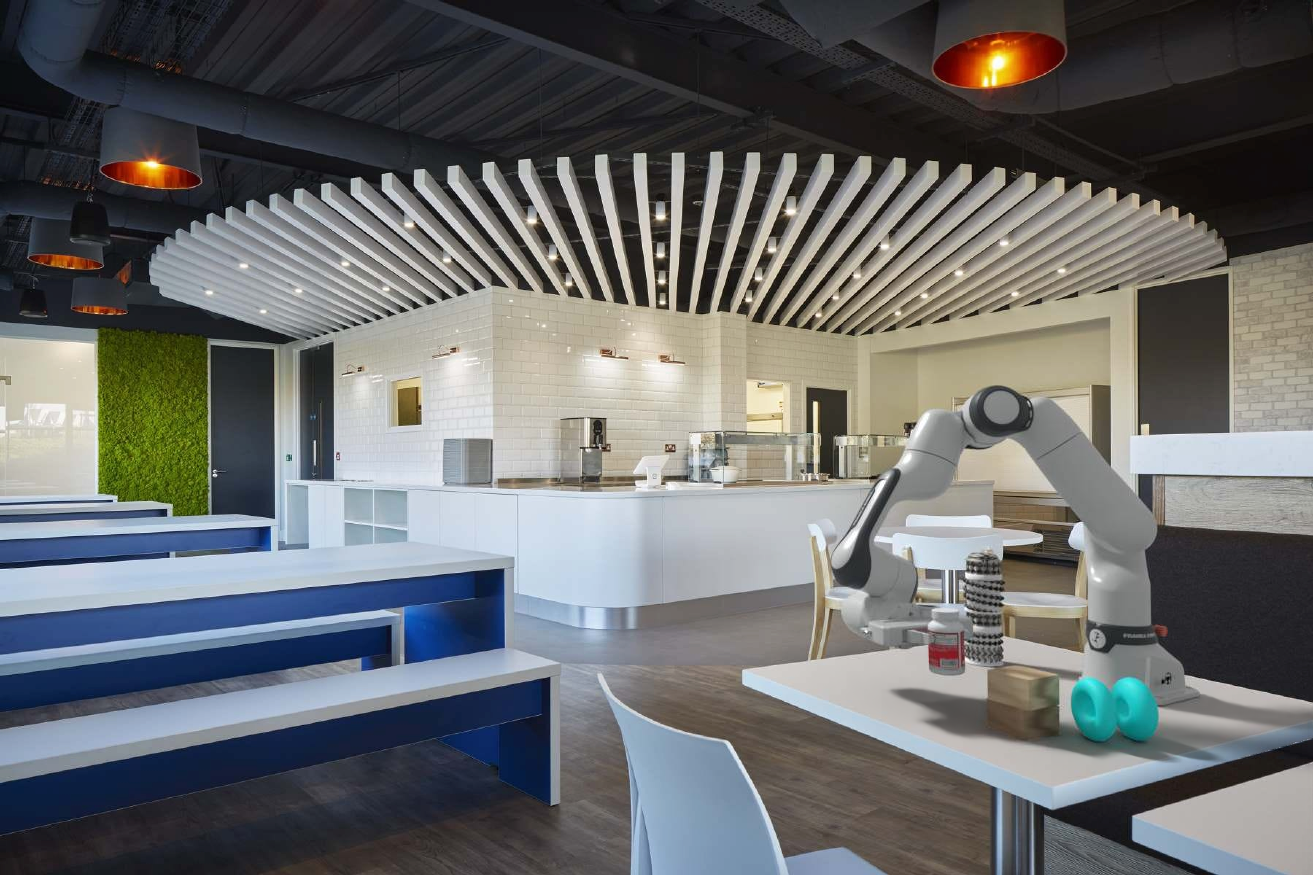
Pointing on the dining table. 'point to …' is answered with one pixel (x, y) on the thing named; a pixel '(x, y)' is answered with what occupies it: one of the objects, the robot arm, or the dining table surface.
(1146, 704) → the turquoise spool
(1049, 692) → the tower top
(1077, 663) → the dining table surface
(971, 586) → the decorative candle
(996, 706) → the tower base
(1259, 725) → the dining table surface
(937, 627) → the pill bottle
